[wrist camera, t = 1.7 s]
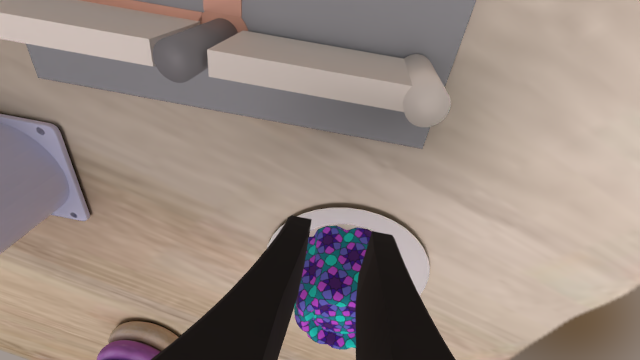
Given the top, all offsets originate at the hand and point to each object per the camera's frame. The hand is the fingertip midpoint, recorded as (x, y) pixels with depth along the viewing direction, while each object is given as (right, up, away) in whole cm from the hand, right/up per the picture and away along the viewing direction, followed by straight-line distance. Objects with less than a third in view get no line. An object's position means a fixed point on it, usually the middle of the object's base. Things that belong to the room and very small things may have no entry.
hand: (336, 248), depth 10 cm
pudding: (+1, -4, +15) cm, 15 cm away
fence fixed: (-10, +10, +6) cm, 15 cm away
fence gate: (0, +8, +5) cm, 9 cm away
